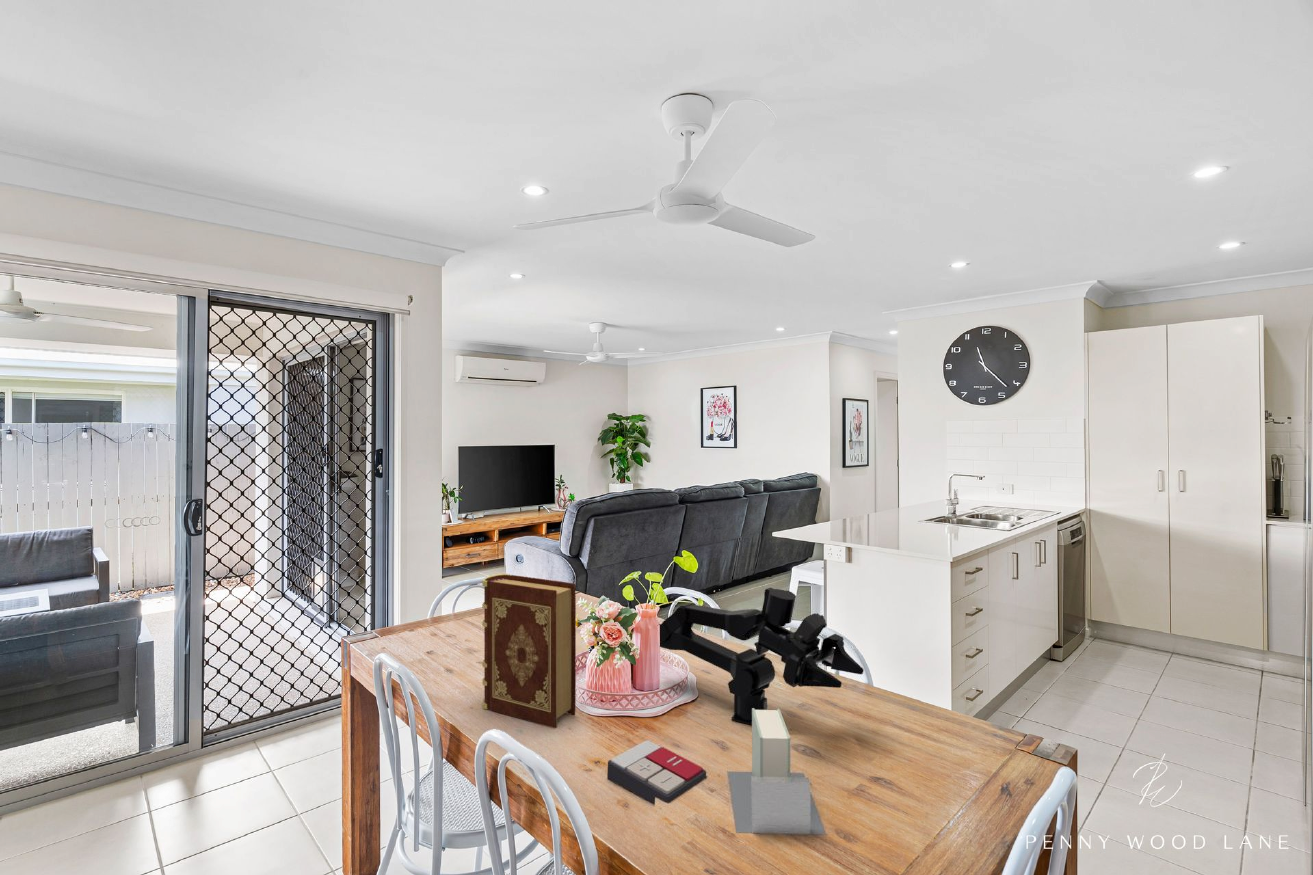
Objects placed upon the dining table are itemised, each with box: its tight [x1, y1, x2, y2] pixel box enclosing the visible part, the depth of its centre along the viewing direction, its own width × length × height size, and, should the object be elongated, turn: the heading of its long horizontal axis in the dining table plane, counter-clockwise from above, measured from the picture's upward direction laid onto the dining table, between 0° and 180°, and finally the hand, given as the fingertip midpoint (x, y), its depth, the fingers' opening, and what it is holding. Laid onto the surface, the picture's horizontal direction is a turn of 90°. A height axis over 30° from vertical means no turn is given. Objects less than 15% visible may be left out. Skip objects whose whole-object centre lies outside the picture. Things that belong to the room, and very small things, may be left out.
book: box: [751, 708, 791, 777], centre depth 107 cm, size 11×5×12 cm, turn 178°
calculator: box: [606, 739, 707, 806], centre depth 113 cm, size 11×4×15 cm
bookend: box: [751, 776, 811, 835], centre depth 97 cm, size 2×9×8 cm, turn 88°
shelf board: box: [727, 770, 827, 836], centre depth 105 cm, size 18×14×2 cm
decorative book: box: [481, 573, 577, 729], centre depth 142 cm, size 22×8×30 cm, turn 62°
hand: (852, 678), depth 121 cm, fingers open, 9 cm apart
